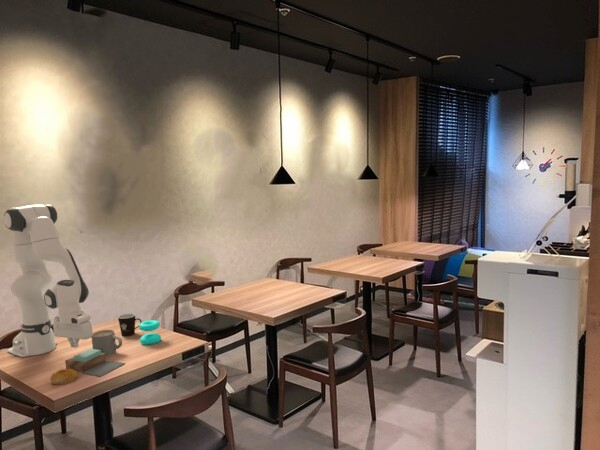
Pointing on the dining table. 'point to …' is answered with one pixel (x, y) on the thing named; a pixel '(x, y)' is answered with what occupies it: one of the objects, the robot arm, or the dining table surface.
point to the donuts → (150, 337)
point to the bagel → (63, 376)
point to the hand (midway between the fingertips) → (74, 346)
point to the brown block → (85, 363)
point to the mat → (103, 368)
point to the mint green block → (87, 355)
